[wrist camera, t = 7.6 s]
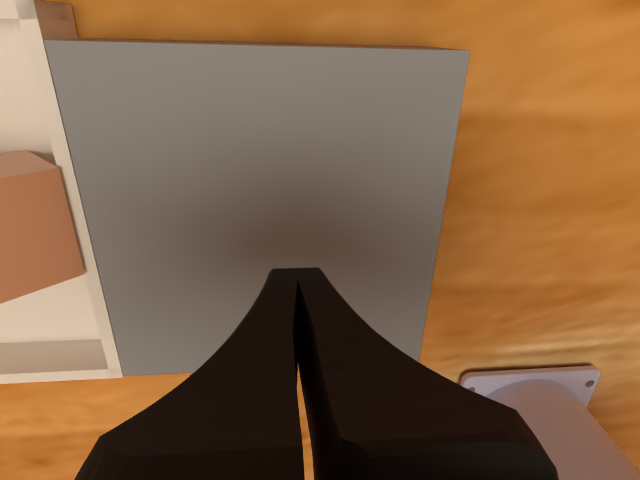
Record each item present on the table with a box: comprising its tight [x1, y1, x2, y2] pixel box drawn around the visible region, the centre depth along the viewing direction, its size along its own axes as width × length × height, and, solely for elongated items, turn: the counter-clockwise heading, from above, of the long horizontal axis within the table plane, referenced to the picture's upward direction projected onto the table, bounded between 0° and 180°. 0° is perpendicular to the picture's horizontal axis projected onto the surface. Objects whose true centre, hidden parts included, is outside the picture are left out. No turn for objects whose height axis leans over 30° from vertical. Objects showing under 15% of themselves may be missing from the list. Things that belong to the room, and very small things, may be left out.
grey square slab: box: [44, 38, 470, 376], centre depth 16 cm, size 12×12×4 cm
